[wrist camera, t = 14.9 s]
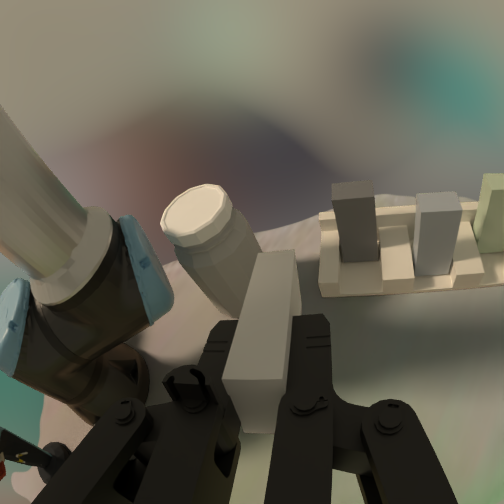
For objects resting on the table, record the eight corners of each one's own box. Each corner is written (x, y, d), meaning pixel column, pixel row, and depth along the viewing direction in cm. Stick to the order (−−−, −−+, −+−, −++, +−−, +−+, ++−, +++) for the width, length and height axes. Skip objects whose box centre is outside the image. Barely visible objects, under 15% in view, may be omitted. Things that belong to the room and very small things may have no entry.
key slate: (448, 273, 36) (462, 210, 28) (414, 276, 38) (421, 212, 30) (444, 256, 38) (455, 191, 30) (412, 258, 40) (416, 193, 32)
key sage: (502, 251, 35) (523, 189, 26) (474, 253, 36) (491, 189, 28) (497, 235, 36) (514, 173, 28) (470, 237, 38) (483, 173, 30)
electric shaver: (63, 433, 40) (-32, 390, 26) (88, 487, 33) (-23, 458, 18) (39, 457, 38) (-51, 420, 24) (61, 509, 30) (-42, 484, 16)
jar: (208, 317, 47) (140, 240, 34) (229, 265, 52) (176, 182, 39) (267, 326, 43) (212, 242, 30) (285, 268, 48) (244, 175, 35)
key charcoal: (378, 260, 42) (374, 196, 33) (343, 262, 44) (331, 200, 35) (376, 244, 44) (372, 180, 35) (343, 246, 46) (331, 183, 37)
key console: (525, 282, 31) (539, 256, 27) (322, 297, 43) (314, 272, 38) (506, 227, 37) (515, 200, 33) (325, 239, 49) (319, 212, 45)
